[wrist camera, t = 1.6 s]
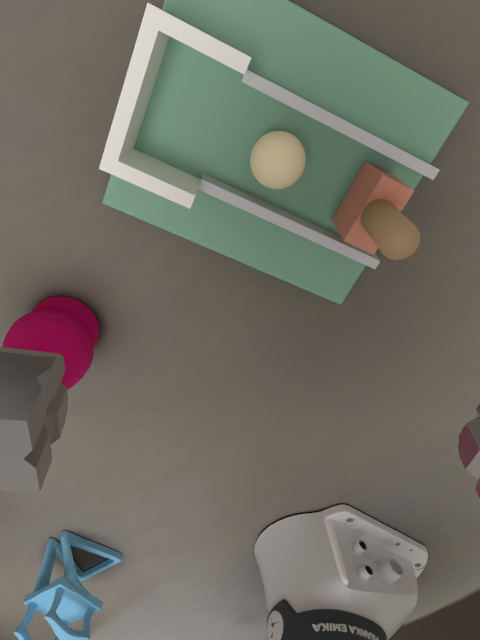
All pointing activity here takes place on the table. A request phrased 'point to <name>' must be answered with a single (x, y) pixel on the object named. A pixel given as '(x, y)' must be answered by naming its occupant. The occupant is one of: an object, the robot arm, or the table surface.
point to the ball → (278, 159)
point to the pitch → (259, 119)
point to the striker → (377, 214)
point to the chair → (66, 589)
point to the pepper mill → (58, 334)
